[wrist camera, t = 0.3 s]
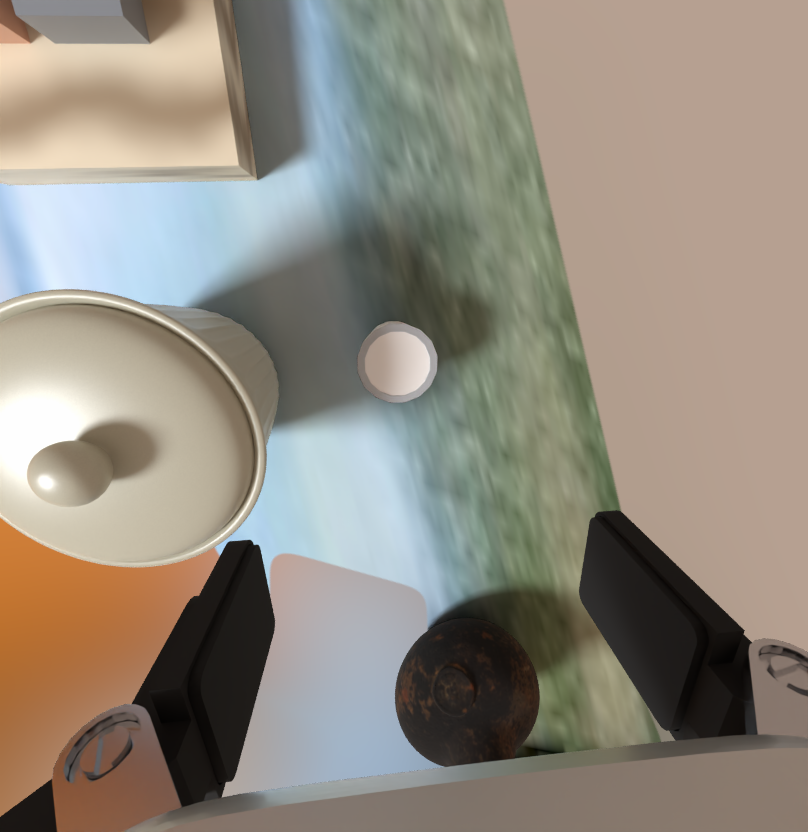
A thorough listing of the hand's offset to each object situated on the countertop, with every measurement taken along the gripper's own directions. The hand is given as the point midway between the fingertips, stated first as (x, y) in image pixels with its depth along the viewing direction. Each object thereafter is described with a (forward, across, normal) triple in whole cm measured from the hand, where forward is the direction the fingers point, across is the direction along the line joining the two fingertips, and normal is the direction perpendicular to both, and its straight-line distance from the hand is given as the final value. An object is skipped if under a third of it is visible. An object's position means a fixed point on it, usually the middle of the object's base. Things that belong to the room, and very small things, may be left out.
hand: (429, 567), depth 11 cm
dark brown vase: (+31, -7, +42) cm, 52 cm away
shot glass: (+31, -1, 0) cm, 31 cm away
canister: (+31, +17, +2) cm, 35 cm away
